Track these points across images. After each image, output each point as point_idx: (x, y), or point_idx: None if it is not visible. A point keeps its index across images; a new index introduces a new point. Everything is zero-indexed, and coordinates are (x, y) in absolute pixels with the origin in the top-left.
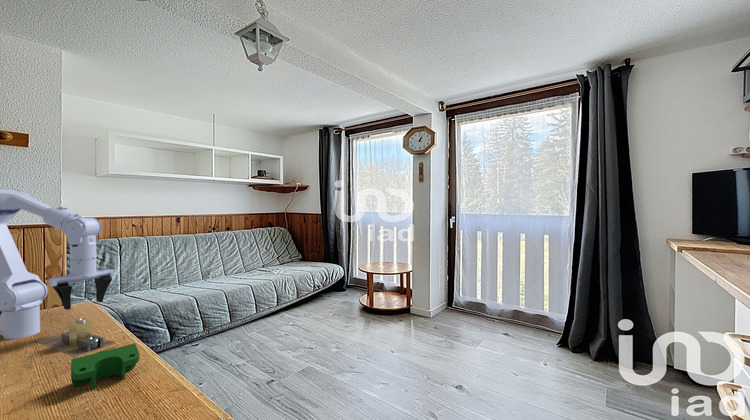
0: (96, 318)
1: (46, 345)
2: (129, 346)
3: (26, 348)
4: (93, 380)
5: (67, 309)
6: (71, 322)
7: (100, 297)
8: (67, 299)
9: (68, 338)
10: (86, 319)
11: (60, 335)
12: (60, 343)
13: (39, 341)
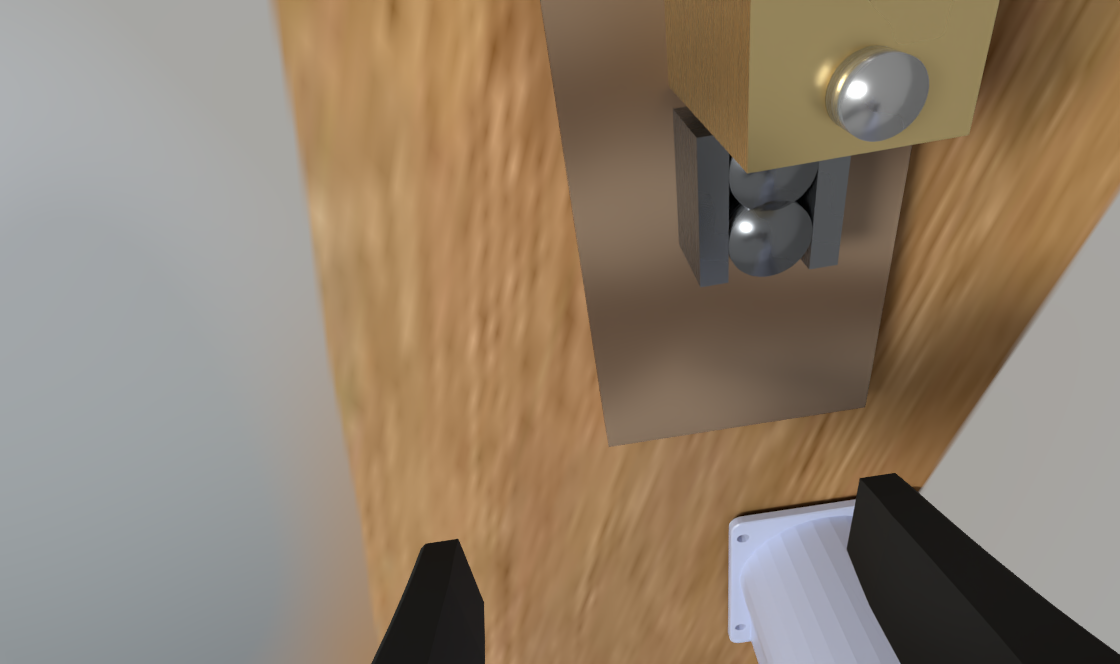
0: None
1: (895, 233)
2: None
3: (915, 353)
4: None
5: (898, 477)
6: (943, 120)
7: (447, 614)
8: (1047, 622)
9: None
10: (755, 99)
11: (727, 398)
12: None
13: (861, 374)
